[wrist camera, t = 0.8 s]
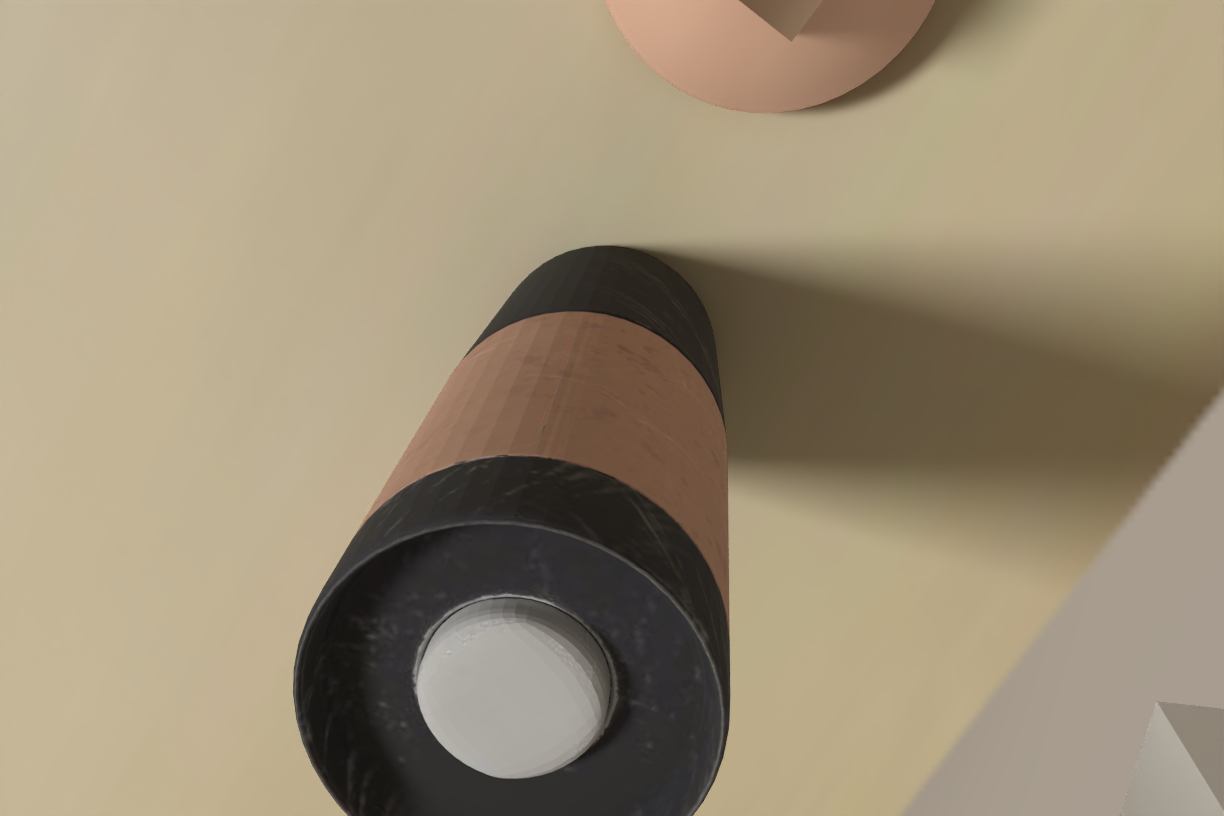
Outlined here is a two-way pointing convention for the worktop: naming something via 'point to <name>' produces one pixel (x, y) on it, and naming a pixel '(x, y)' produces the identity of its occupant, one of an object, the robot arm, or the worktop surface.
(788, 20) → the walnut block
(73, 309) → the worktop surface
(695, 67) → the terracotta dish
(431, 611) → the travel mug
